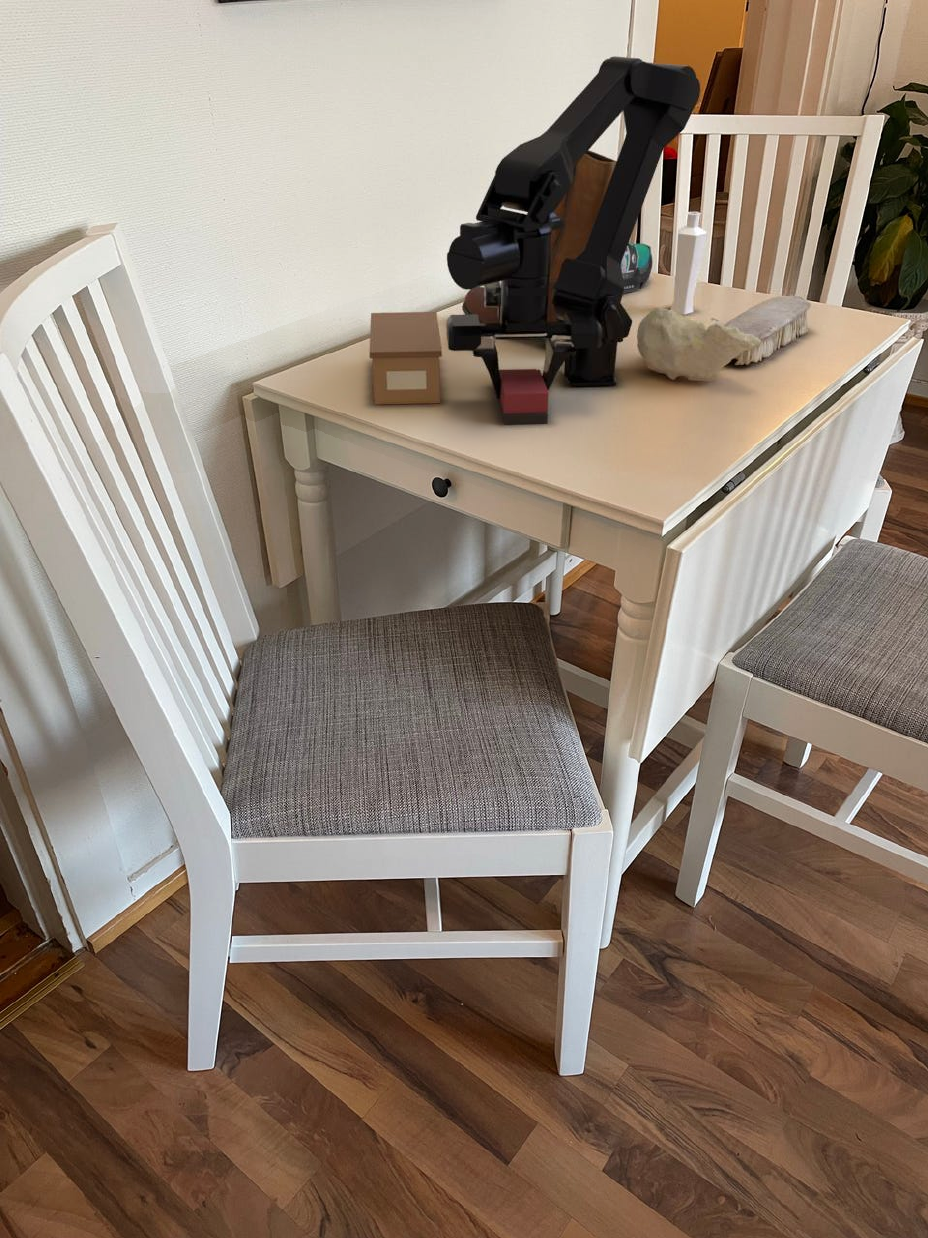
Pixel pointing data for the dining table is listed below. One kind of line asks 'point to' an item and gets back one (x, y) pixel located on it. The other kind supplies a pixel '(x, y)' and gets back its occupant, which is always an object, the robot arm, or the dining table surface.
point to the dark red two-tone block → (523, 397)
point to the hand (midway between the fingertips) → (520, 397)
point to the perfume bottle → (688, 263)
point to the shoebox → (405, 357)
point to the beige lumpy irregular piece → (689, 345)
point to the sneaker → (636, 266)
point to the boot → (570, 239)
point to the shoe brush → (771, 325)
